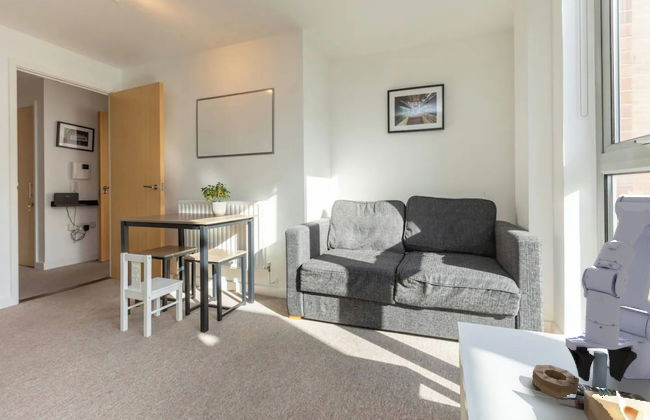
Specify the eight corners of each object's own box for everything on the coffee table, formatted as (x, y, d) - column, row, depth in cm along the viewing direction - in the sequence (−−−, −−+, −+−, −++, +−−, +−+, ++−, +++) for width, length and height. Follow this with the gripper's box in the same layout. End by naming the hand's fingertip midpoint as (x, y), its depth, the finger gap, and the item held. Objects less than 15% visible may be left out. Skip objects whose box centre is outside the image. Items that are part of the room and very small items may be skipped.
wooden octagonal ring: (559, 376, 76) (560, 364, 75) (586, 399, 68) (587, 385, 67) (526, 377, 76) (526, 365, 76) (549, 399, 68) (549, 385, 68)
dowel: (599, 384, 73) (601, 350, 72) (609, 390, 70) (610, 356, 70) (589, 384, 73) (590, 350, 72) (598, 390, 70) (599, 356, 70)
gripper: (618, 313, 74) (615, 368, 75) (556, 313, 75) (554, 368, 75) (648, 326, 67) (645, 387, 68) (580, 326, 68) (577, 387, 68)
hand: (599, 378), depth 71 cm, fingers open, 7 cm apart
